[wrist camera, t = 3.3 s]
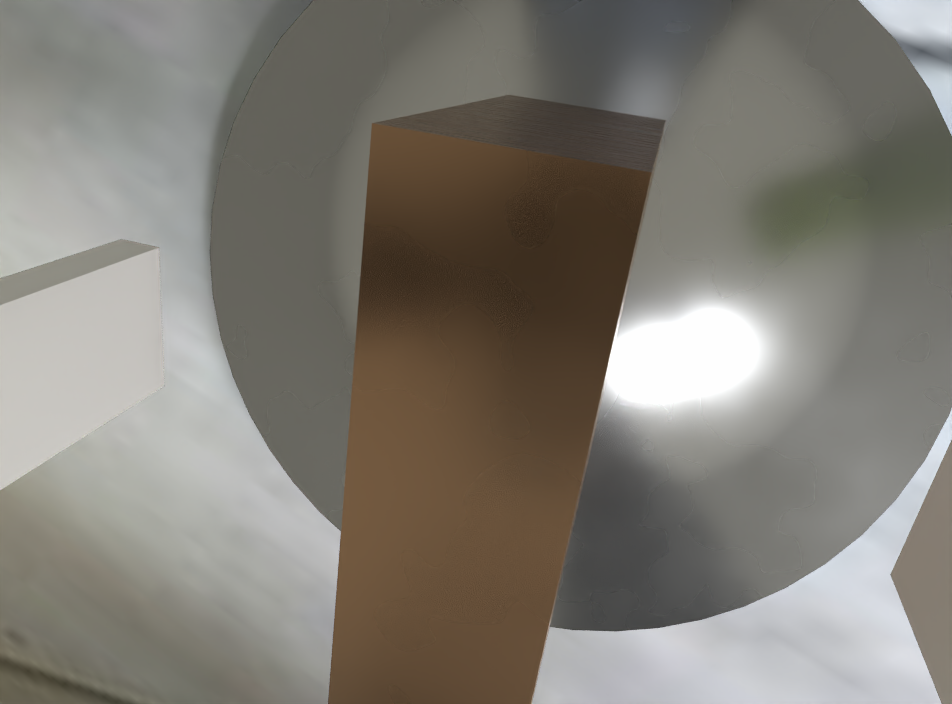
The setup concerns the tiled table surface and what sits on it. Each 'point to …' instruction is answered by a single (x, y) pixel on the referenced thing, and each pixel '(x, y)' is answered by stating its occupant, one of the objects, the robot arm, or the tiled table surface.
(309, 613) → the tiled table surface
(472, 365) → the lid
